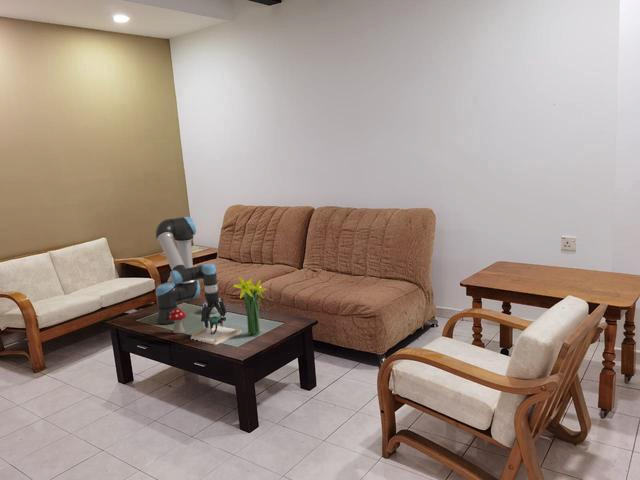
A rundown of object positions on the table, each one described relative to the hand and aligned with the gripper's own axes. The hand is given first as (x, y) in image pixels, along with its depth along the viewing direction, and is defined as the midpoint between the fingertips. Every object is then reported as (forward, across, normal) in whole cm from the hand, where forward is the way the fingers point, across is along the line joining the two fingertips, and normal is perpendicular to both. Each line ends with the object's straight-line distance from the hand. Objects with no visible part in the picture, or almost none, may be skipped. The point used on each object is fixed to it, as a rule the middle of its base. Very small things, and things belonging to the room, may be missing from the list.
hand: (215, 329), depth 288 cm
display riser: (+4, 0, 0) cm, 4 cm away
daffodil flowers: (+4, +12, -19) cm, 23 cm away
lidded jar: (+4, +32, +36) cm, 48 cm away
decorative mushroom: (+4, -6, +25) cm, 26 cm away
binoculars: (+2, 0, 0) cm, 3 cm away
